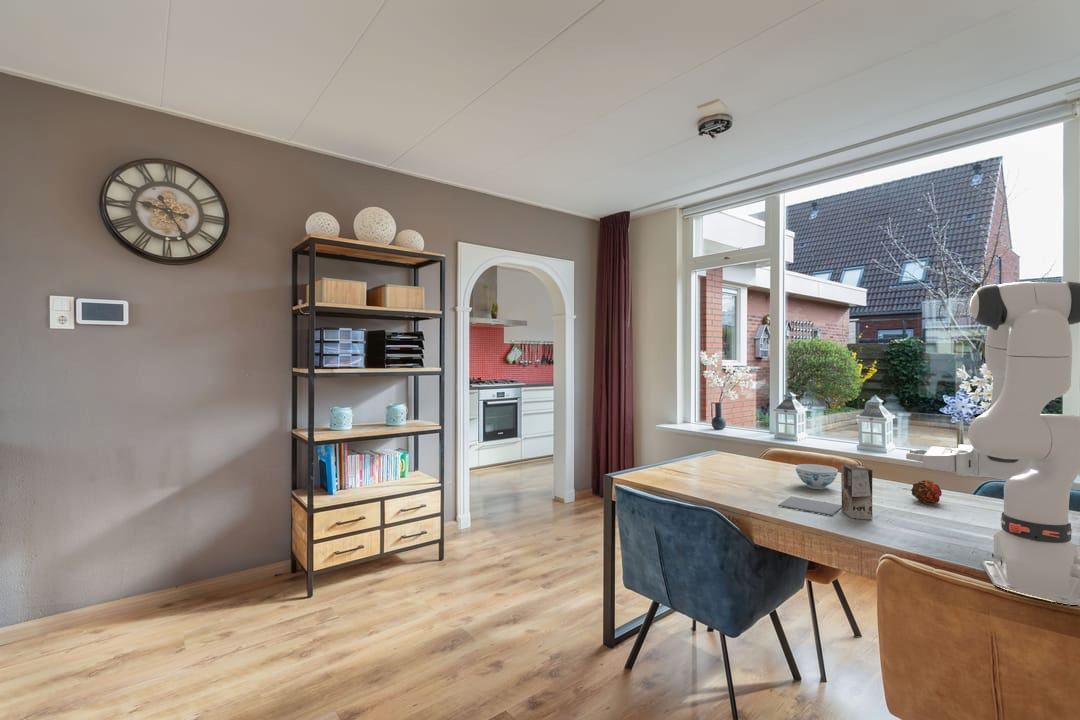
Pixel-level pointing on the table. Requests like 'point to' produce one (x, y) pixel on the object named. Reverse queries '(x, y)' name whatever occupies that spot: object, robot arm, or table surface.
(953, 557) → the table surface
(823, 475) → the chinaware
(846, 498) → the coffee box
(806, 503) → the slate mat
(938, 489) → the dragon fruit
